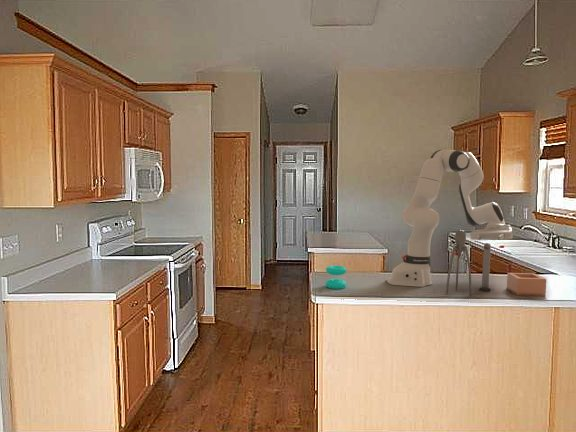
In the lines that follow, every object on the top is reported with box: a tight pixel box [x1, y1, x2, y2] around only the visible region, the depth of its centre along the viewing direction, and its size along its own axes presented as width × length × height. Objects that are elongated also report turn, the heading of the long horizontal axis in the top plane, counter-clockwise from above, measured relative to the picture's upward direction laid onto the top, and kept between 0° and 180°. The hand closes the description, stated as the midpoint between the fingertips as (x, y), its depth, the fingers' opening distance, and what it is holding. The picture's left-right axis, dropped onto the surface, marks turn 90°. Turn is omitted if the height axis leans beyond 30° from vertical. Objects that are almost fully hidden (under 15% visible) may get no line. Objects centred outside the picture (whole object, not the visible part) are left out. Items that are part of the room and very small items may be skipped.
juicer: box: [445, 229, 472, 297], centre depth 246 cm, size 10×11×30 cm
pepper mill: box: [478, 242, 492, 292], centre depth 252 cm, size 5×5×23 cm
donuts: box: [325, 265, 347, 290], centre depth 255 cm, size 10×10×10 cm
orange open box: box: [506, 272, 547, 297], centre depth 249 cm, size 13×13×8 cm
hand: (488, 238), depth 262 cm, fingers open, 8 cm apart
